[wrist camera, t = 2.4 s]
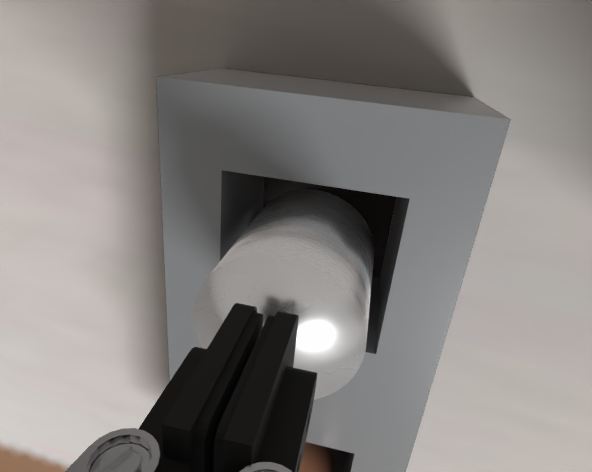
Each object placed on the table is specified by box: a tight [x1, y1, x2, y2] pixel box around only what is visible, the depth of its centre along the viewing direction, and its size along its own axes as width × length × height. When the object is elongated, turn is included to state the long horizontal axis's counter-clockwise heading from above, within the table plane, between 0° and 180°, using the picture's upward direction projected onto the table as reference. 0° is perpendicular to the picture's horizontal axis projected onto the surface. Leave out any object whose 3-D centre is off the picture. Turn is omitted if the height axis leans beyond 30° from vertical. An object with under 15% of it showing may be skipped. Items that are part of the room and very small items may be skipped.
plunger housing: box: [156, 68, 511, 472], centre depth 21 cm, size 11×24×6 cm, turn 175°
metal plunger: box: [193, 190, 374, 399], centre depth 14 cm, size 5×5×6 cm
